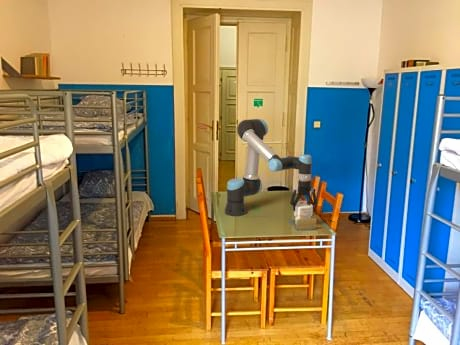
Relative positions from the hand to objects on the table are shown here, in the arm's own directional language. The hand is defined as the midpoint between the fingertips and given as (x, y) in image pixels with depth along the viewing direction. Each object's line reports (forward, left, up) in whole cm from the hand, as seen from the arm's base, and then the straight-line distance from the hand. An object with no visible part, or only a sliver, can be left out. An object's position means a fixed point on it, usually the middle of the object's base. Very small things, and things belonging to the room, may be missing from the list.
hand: (303, 215), depth 251 cm
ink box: (0, 0, -6) cm, 6 cm away
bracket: (0, +2, -7) cm, 7 cm away
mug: (+7, +23, -7) cm, 25 cm away
